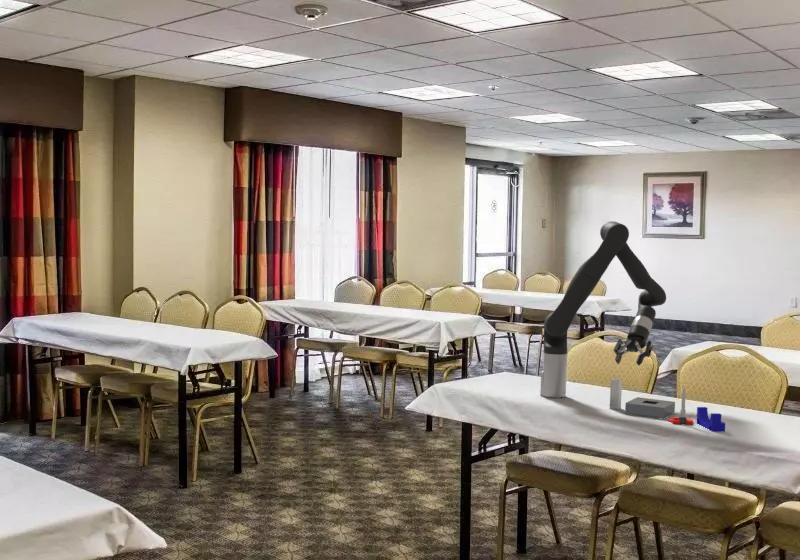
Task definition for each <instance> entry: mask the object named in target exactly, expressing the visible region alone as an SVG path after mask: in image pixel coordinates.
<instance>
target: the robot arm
mask: <svg viewBox="0 0 800 560" xmlns="http://www.w3.org/2000/svg"><path fill="white" fill-rule="evenodd" d="M599 235H600V238H601V239H602V242H601V244H600V246H599V247H598V248H597V250H596V251H595V252H594V253H593V254H592V255H591V256H590V257H589V258H588V259H587V260H585V261H584V262H583V263H582V264H581V265H580V266H579V268H578V269H577V271H576V272H575V274H574V275H573V277H572V279H571V280H570V282H569V284H568V286H567V289H566V291H565V293H564V296H563V297H562V300H561V301H560V303H559V304H558V305H557V307H556V308H555V309H554V310H553V312H551V313H549V314H548V315H546V317H545V318H544V323H543V361H542V362H543V365H542V371H541V372H540V389H539V390H540V392H539V393H540V396H543V397H545V398H551V399H552V398H554V399H555V398H557V399H558V398H559V399H560V398H561V397H562V398H566V397H565V396H567V394H566V393H567V392H566V391H567V369H568V368H567V367H568V330H569V329H570V327H571V324H572V323H573V321H574V318H575V317H576V314H577V313H578V312H579V309H580V308H581V307H582V306H583V304H585V302H586V300H588V298H589V297H590V295H591V294H592V292H593V291H594V289H595V288H596V286H598V283H599V282H600V280H601V278H602V277H603V275H604V274H605V272H606V271H607V269H608V267H609V266H610V264H611V263H612V261H613V260H614V258H615V257H616V258H617V259H618V260H619V262H620V264H621V265H622V267H623V268H624V270H625V271H626V273H627V275H628V278H630V280H631V282H632V283H633V285H634V286H635V288H636V289H638V290H643V291H642V292H640V294H639V295H638V304H637V305H638V307H637V312H636V314H635V317H634V319H633V321H632V324H631V326H630V328H629V331H628V333H627V337H626V339H625V340H622V339H621V338H618V340H617V342H616V344H615V346H614V348H613V352H614V354H615V358H614V360H615V362H616V364H618V365H619V364H620V363H621V361H622V358H623V356H624V355H625V354H628V353H633V352H634V353H639V354H638V357H637V359H636V362H635V363H636V365H637V366H641V365H642V364H643V362H644V358H650V356H651V353H652V351H653V348H654V345H653V342H652V340H648V339H649V336H650V333H651V331H652V328H653V323H654V321H655V318H656V315H657V311H656V309H655V308H654V307H657V306H662V305H665V303H666V301H667V294H666V291H665V289H663V287H662V286H661V285H660V284H659V283H658V282H657V281H656V280H654V279H653V278H652V277H651V274H650V273H649V272H648V270H647V268H646V267H645V265H644V264H643V262H642V261H641V260H640V258H638V256H637V255H636V254H635V253H634V252H633V250H632V249H631V247H630V246H629V244H628V242H627V241H628V240H629V237H630V230H629V229H628V227H627V226H626V225H625V224H624V223H621V222H617V221H613V220H612V221H607V222H605V223H604V224H603V225H602V226H601V227H600V232H599ZM644 348H645V351H643V349H644Z"/></svg>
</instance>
